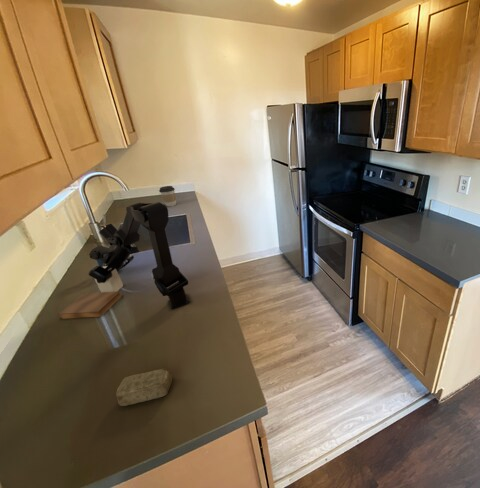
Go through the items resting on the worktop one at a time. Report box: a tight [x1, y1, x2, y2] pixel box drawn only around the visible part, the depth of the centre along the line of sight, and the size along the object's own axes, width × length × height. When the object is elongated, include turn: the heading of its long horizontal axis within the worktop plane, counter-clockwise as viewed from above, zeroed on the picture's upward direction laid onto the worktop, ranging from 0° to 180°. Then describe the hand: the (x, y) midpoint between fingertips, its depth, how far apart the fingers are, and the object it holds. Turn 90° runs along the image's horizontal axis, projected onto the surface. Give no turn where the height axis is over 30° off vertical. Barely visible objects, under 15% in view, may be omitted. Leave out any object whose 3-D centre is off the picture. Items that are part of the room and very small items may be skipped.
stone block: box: [115, 367, 173, 407], centre depth 70 cm, size 6×12×5 cm, turn 106°
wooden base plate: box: [58, 290, 122, 320], centre depth 105 cm, size 14×12×2 cm
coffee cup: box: [158, 185, 177, 207], centre depth 225 cm, size 11×11×15 cm
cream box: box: [93, 266, 124, 293], centre depth 114 cm, size 6×6×10 cm
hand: (104, 278), depth 114 cm, fingers open, 6 cm apart
